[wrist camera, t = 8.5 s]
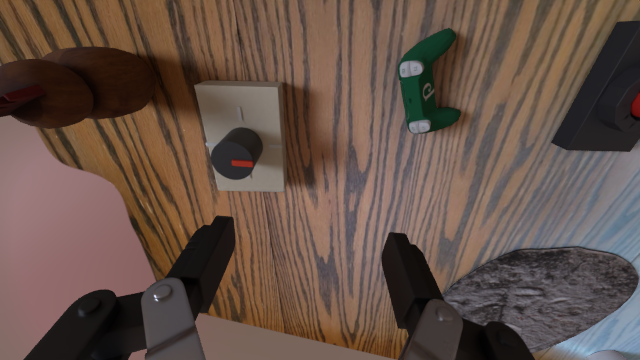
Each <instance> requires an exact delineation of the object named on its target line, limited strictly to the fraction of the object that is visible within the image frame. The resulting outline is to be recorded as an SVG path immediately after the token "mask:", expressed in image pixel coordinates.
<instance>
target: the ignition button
mask: <svg viewBox="0 0 640 360" xmlns="http://www.w3.org/2000/svg"><path fill="white" fill-rule="evenodd" d="M631 113H632V114H633V115H634V116H636V117H639V118H640V92H639V93H638V94H637V96H636V97H635V99H634V100H633V102H632V103H631Z"/></svg>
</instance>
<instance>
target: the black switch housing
mask: <svg viewBox="0 0 640 360" xmlns="http://www.w3.org/2000/svg"><path fill="white" fill-rule="evenodd" d="M639 92H640V21H626V22H617V23H616V25H615V27H614V29H613V31H612V33H611V34H610V36H609V38H608V40H607V42H606V43H605V45H604V47H603V49H602V51H601V53H600V54H599V56H598V58H597V60H596V62H595V64H594V65H593V67H592V69H591V71H590V73H589V75H588V76H587V78H586V80H585V82H584V84H583V86H582V87H581V89H580V91H579V93H578V95H577V97H576V98H575V100H574V102H573V104H572V106H571V107H570V109H569V111H568V113H567V115H566V117H565V118H564V120H563V122H562V124H561V126H560V128H559V129H558V131H557V133H556V135H555V137H554V139H553V140H552V142H551V143H553V144H555V145H557V146H559V147H562V148H564V149H566V150H585V151H625V152H630V151H631V149H632V148H633V147H634V145H635V144H636V143H637V141H638V140H639V139H640V118H639V117H636V116H634V115H633V114H632V113H631V103H632V102H633V100H634V99H635V97H636V96H637V94H638V93H639Z"/></svg>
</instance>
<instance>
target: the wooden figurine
mask: <svg viewBox="0 0 640 360" xmlns="http://www.w3.org/2000/svg"><path fill="white" fill-rule="evenodd" d="M154 91H155V80H154V77H153V74H152V72H151V70H150V69H149V67H148V65H147V64H146V63H145V62H144V61H142V60H141V59H140V58H139V57H137V56H136V55H134V54H132V53H129V52H126V51H122V50H119V49H115V48H107V47H74V48H66V49H60V50H57V51H54V52H51V53H49V54H47V55H46V56H44V57H43V58H42V59H27V60H19V61H14V62H9V63H6V64H4V65H2V66H0V117H3V116H8V115H11V116H12V117H14V118H15V119H17V120H18V121H20V122H22V123H25V124H28V125H30V126H36V127H42V128H47V129H51V128H60V127H65V126H69V125H72V124H76V123H78V122H80V121H82V120H83V119H85V118H90V119H104V118H115V117H120V116H124V115H127V114H130V113H133V112H136V111H138V110H141V109H142V108H143V107H145V106H146V105H147V103H148V102H149V101H150V99H151V98H152V96H153V94H154Z"/></svg>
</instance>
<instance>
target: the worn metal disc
mask: <svg viewBox="0 0 640 360" xmlns="http://www.w3.org/2000/svg"><path fill="white" fill-rule="evenodd" d="M638 279H639V278H638V275H637V273H636V271H635V269H634V268H633V267H632V266H631V265H630V263H629V262H627V261H625V260H624V259H622V258H620V257H618V256H616V255H613V254H609V253H603V252H598V251H591V250H585V249H582V248H579V247H569V248H556V249H525V250H516V251H513V252H511V253H508V254H505V255H503V256H500V257H499V258H497V259H495V260H492V261H490V262H488V263H486V264H485V265H483V266H481V267H479V268H477V269H476V270H474V271H473V272H471V273H470V274H468V275H467V276H465V277H463V278H462V279H460V280H459V281H457V282H456V283H455V284H454V285H452V286H451V287H450V289H449V290H448V291H447V292H446V293H445V294H443V295H442V297H443V299H444V301H445V302H447V303H449V304H450V305H452V306H453V307H454V308H455V309H456V310H457V311H458V313H459V314H460V316H461V317H462V318H464V319H467V320H469V321H472V322H475V323H477V324H480V325H482V326H485V325H486V324H487V323H488V322H490V321H498V322H501V323H504V324H506V325H508V326H509V327H511V328H512V329H513V330H514V331H516V332H517V333H518V334H519V335H520V337H521V338H522V339H523V341H524V342H525V344H526V345H527V347H528V349H529V350H530V352H531V353H534V352H537V351H540V350H543V349H546V348H548V347H551V346H553V345H556V344H558V343H561V342H563V341H565V340H567V339H569V338H572V337H574V336H576V335H578V334H580V333H581V332H583V331H585V330H587V329H589V328H590V327H592V326H593V325H595V324H596V323H598V322H600V321H601V320H603V319H604V318H605V317H607V316H608V315H610V314H611V313H613V312H614V311H616V310H617V309H618V308H620V307H621V306H622V305H623V304H624V303H625V302H626V301H627V300H628V299H629V298H630V297H631V296H632V294H633V293H634V291H635V289H636V288H637V285H638Z"/></svg>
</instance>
